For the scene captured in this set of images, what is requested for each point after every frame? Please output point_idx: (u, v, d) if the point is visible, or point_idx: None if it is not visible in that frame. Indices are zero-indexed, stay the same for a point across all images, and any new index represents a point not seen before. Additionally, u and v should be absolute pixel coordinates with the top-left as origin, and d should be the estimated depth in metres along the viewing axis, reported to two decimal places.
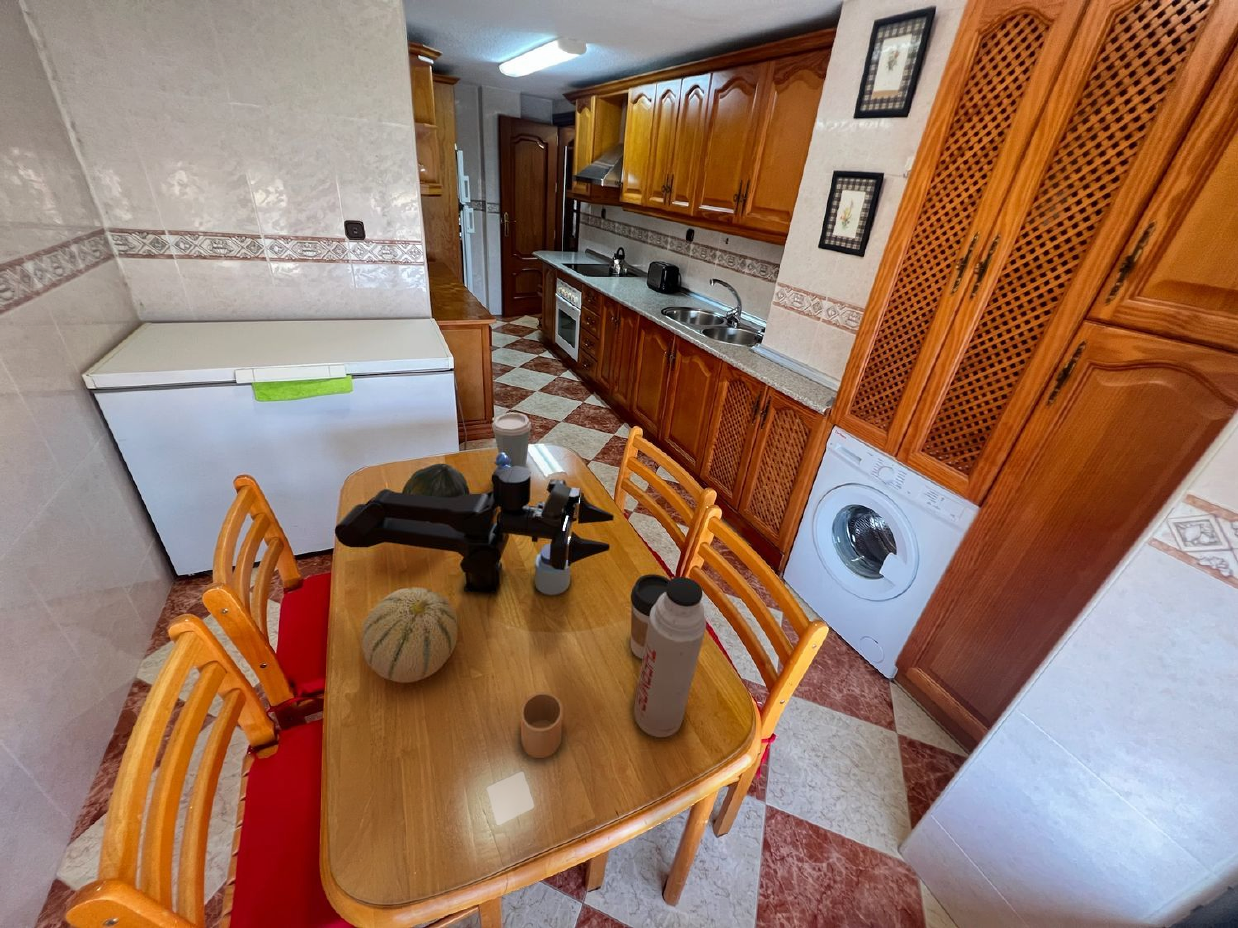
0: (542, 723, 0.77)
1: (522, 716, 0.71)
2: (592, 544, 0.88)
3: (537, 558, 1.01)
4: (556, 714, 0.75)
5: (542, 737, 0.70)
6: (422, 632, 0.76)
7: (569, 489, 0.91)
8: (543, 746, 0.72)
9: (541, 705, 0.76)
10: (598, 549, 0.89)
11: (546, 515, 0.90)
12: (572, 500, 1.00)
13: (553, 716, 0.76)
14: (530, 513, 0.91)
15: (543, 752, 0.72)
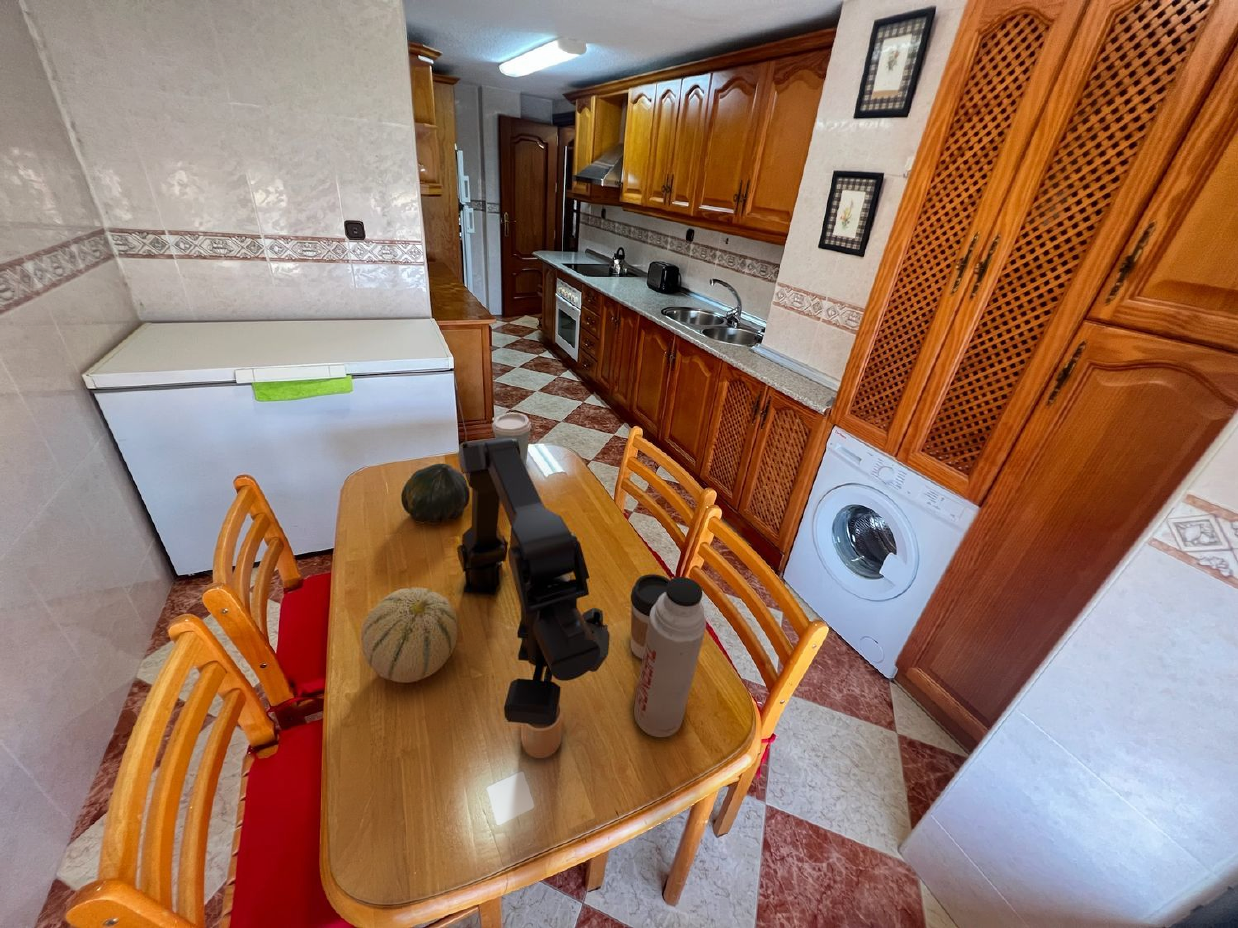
0: None
1: None
2: None
3: None
4: None
5: (542, 737, 0.70)
6: (422, 632, 0.76)
7: None
8: (543, 746, 0.72)
9: None
10: None
11: None
12: None
13: None
14: None
15: (543, 752, 0.72)
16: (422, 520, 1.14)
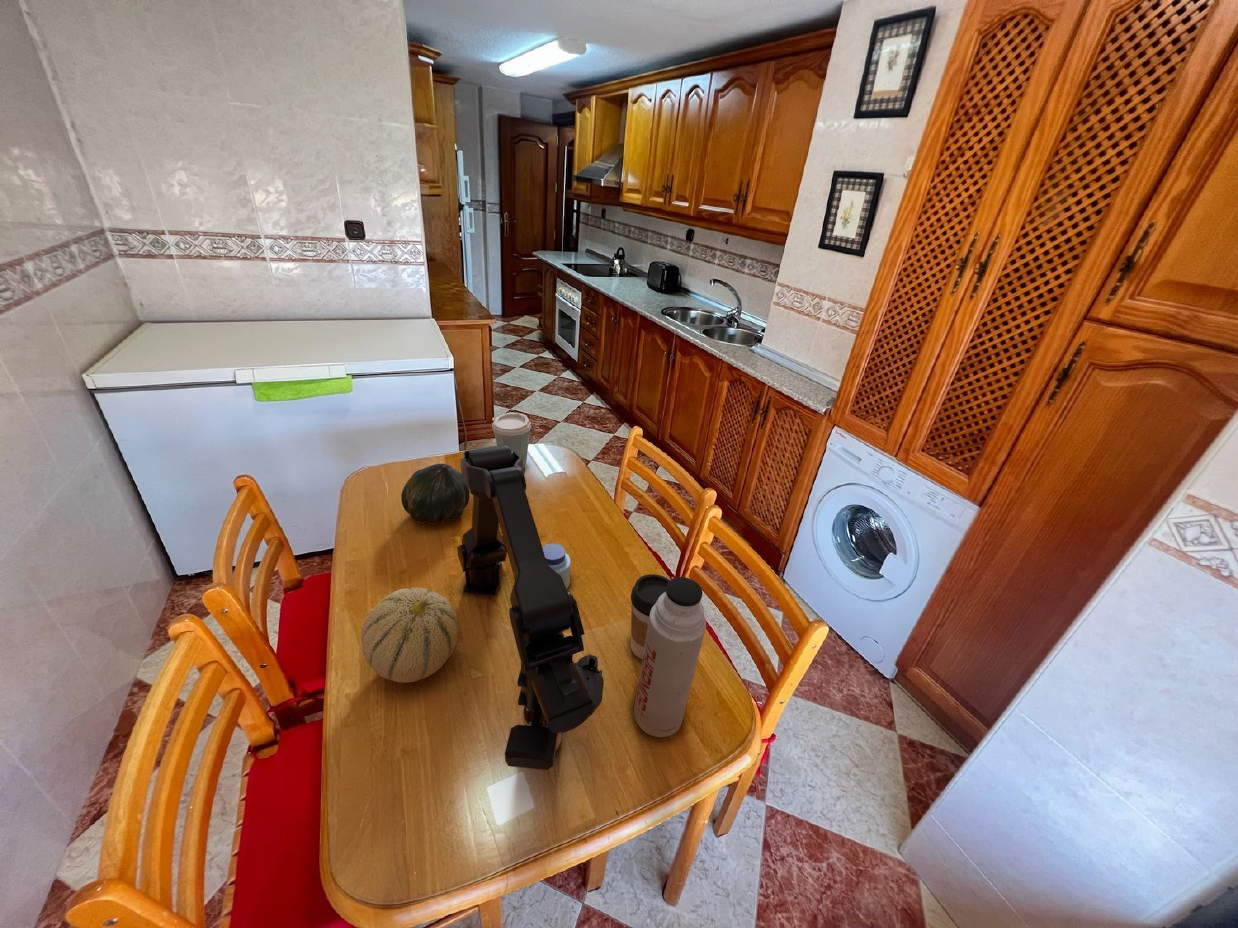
0: None
1: (522, 716, 0.71)
2: None
3: None
4: None
5: None
6: (422, 632, 0.76)
7: None
8: None
9: None
10: None
11: None
12: None
13: None
14: None
15: None
16: (422, 520, 1.14)
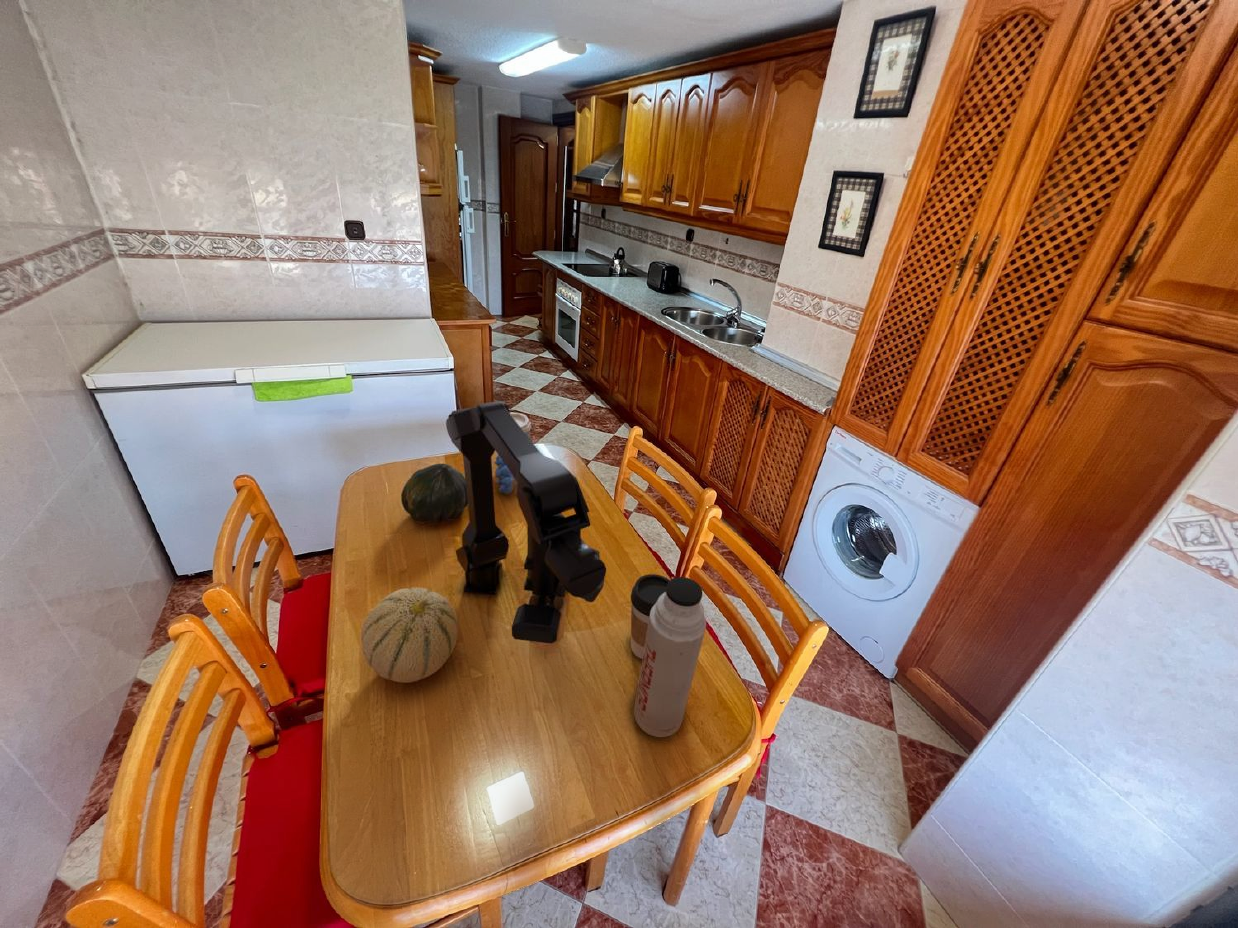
0: None
1: None
2: None
3: None
4: (559, 609, 0.80)
5: None
6: (422, 632, 0.76)
7: None
8: None
9: None
10: None
11: None
12: None
13: None
14: None
15: None
16: (422, 520, 1.14)
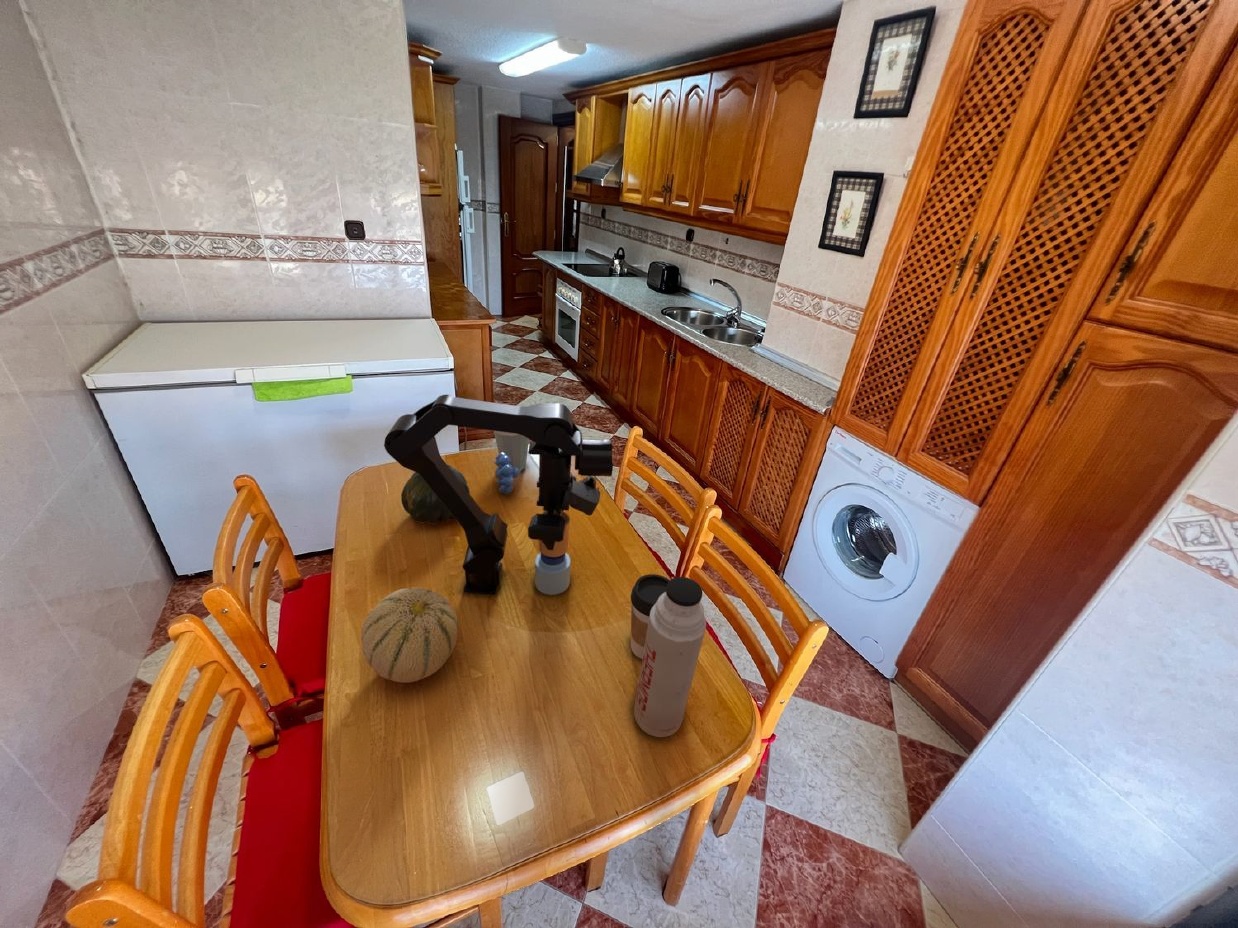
0: None
1: None
2: None
3: (537, 558, 1.01)
4: None
5: None
6: (422, 632, 0.76)
7: None
8: (555, 544, 0.95)
9: None
10: (548, 544, 0.94)
11: (571, 498, 0.90)
12: None
13: None
14: (568, 479, 0.89)
15: (555, 551, 0.96)
16: (422, 520, 1.14)
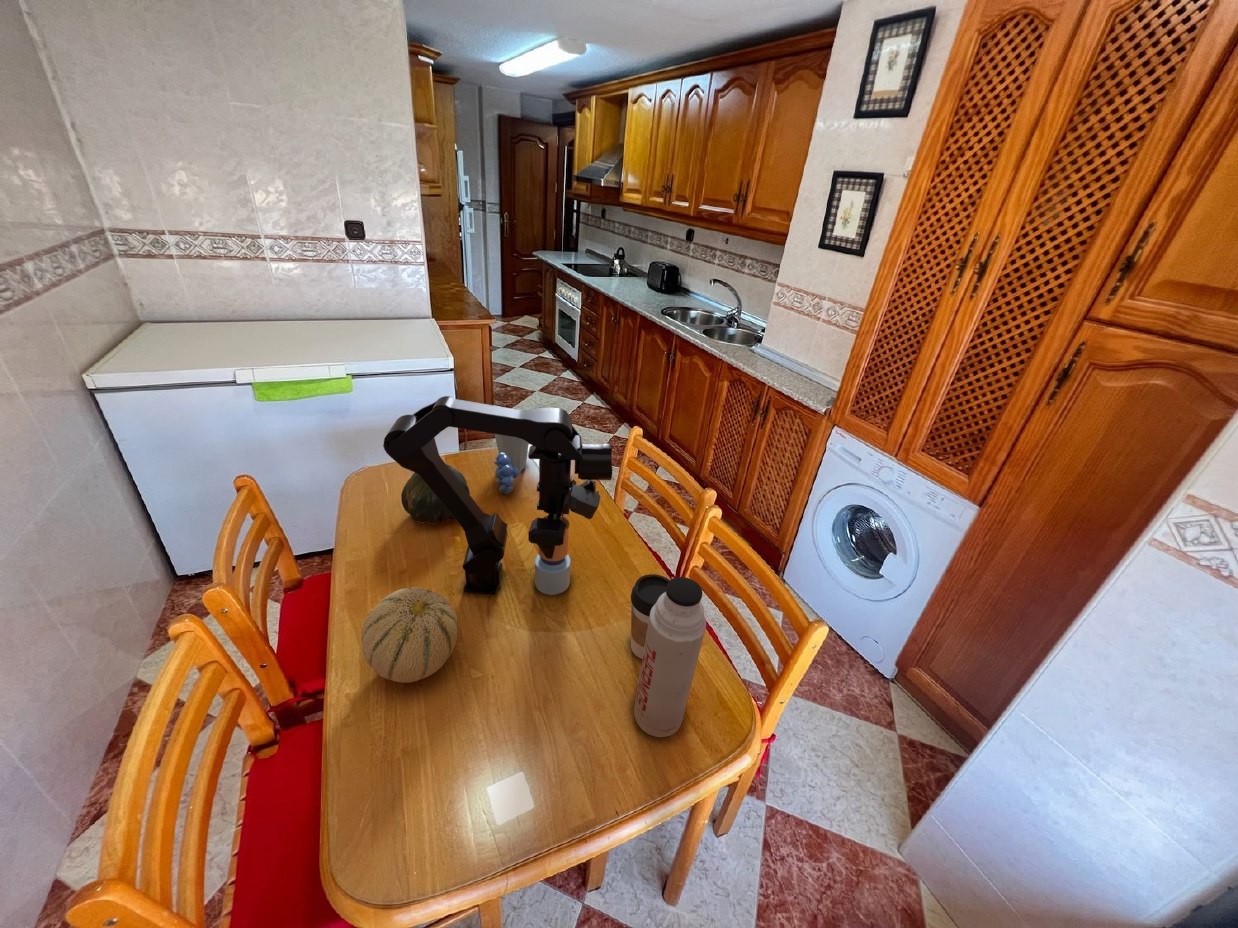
0: None
1: None
2: (553, 549, 0.92)
3: (537, 558, 1.01)
4: None
5: None
6: (422, 632, 0.76)
7: None
8: (555, 549, 0.96)
9: None
10: (547, 552, 0.93)
11: (571, 501, 0.90)
12: None
13: None
14: (568, 483, 0.90)
15: (555, 555, 0.97)
16: (422, 520, 1.14)
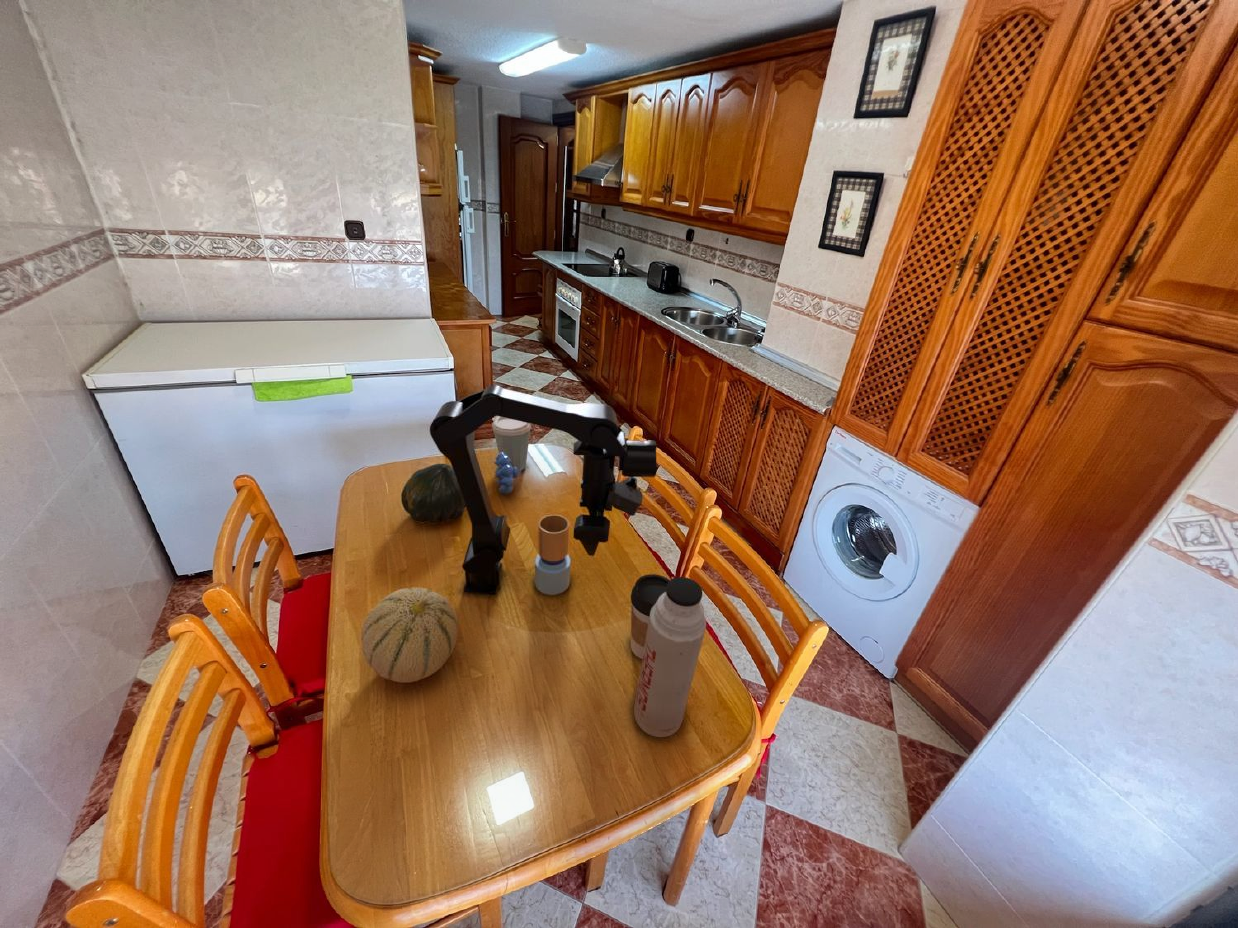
0: None
1: (539, 526, 0.95)
2: (596, 546, 0.92)
3: (537, 558, 1.01)
4: None
5: (554, 540, 0.95)
6: (422, 632, 0.76)
7: None
8: (555, 549, 0.96)
9: (552, 526, 1.00)
10: (590, 549, 0.93)
11: (615, 498, 0.90)
12: None
13: None
14: (611, 479, 0.90)
15: (555, 555, 0.97)
16: (422, 520, 1.14)
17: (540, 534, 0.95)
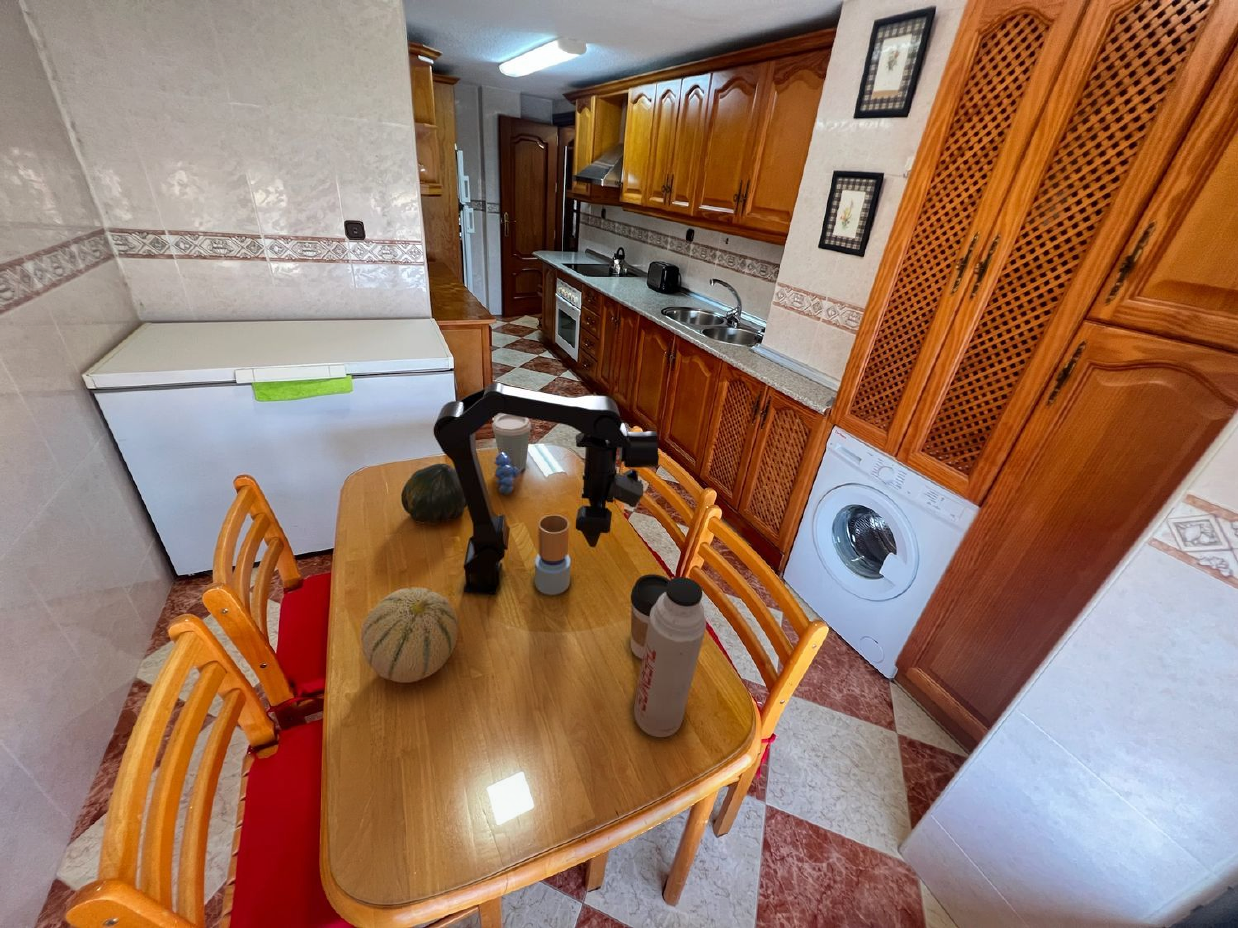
0: None
1: (539, 526, 0.95)
2: (598, 538, 0.93)
3: (537, 558, 1.01)
4: None
5: (554, 540, 0.95)
6: (422, 632, 0.76)
7: None
8: (555, 549, 0.96)
9: (552, 526, 1.00)
10: (591, 541, 0.94)
11: (616, 490, 0.91)
12: None
13: None
14: (613, 471, 0.90)
15: (555, 555, 0.97)
16: (422, 520, 1.14)
17: (540, 534, 0.95)
